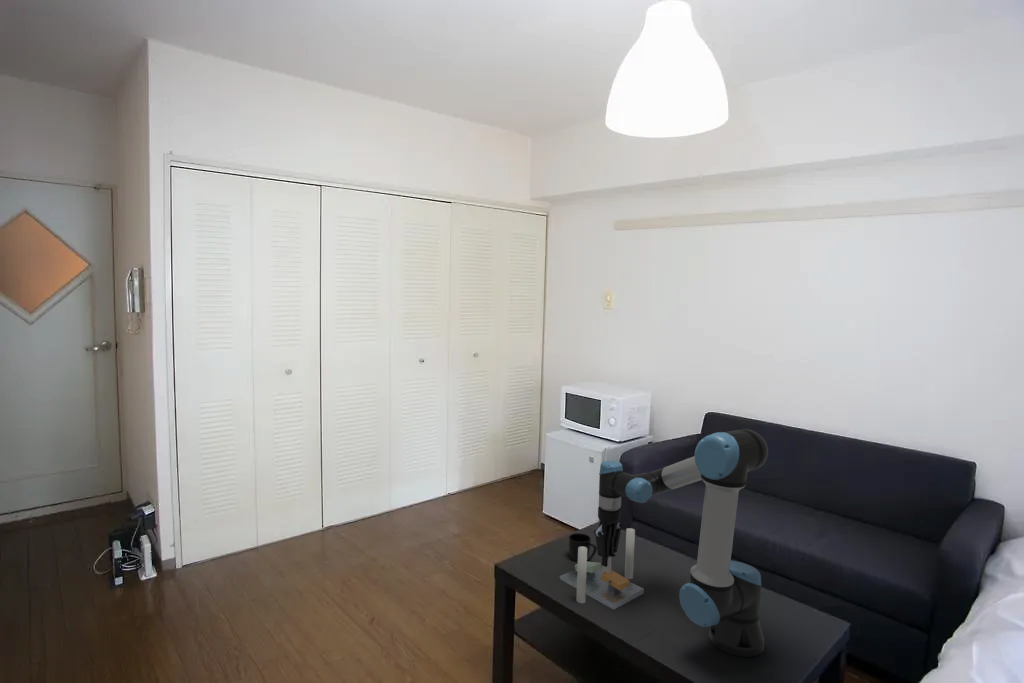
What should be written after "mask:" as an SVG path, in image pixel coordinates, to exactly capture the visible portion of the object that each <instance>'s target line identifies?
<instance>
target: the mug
mask: <svg viewBox="0 0 1024 683" xmlns="http://www.w3.org/2000/svg"><path fill="white" fill-rule="evenodd" d="M580 546H584V547H587V562H592V559H594V556H595V555H596V553H597V544H594V543H591V537H590V536H589V535H587V534H585V533H572V534H570V535H569V536H568V550H569V556H570V558H571V560H572V561H573V562H576V563H578V547H580ZM591 547H592V548H593V549H592V550H593V552H592V554H591V555H590V553H591V552H590V550H591ZM589 555H590V556H589Z"/></svg>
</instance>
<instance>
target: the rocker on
mask: <svg viewBox="0 0 1024 683" xmlns="http://www.w3.org/2000/svg"><path fill="white" fill-rule="evenodd" d="M577 567H578V563H576V564H574V568H575V569H574V570H576V571H577ZM600 569H602V562H596V561H590V562H587V572H590V573H593V572H596V571H598V570H600Z"/></svg>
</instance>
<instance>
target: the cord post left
mask: <svg viewBox="0 0 1024 683" xmlns="http://www.w3.org/2000/svg"><path fill="white" fill-rule="evenodd" d="M587 560H588V559H587V547H584V546H580V547H578V562H577V564H578V567H577V589H576V597H575V598H576V602H577V603H579V604H585V603H586V600H587V599H586V597H587V594H586V573H587Z"/></svg>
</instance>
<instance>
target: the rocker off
mask: <svg viewBox="0 0 1024 683" xmlns="http://www.w3.org/2000/svg"><path fill="white" fill-rule="evenodd" d="M601 579H602V580H603V581H605V582H607V583H608V584H610V585H611V586H613V587H615V588H616V589H618V590H622V589H624V588H626V587H628V586H629V582H631V581H630V580H631V579H626V578H625V576H623V575H622V574H619V573H618V572H616V571H614V570H613V569H611V573H610V574H607V573H606V572H604V573H602V575H601Z"/></svg>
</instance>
